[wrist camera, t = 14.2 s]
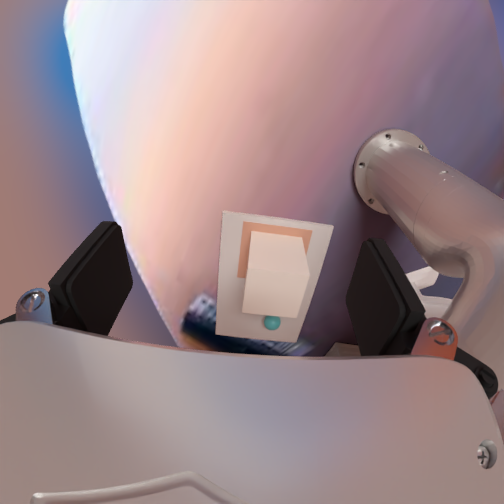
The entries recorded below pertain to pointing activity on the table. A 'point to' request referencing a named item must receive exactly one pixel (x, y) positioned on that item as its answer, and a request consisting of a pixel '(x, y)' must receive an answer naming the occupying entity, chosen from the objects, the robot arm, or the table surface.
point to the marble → (272, 322)
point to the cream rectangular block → (275, 275)
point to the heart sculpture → (431, 304)
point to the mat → (234, 273)
